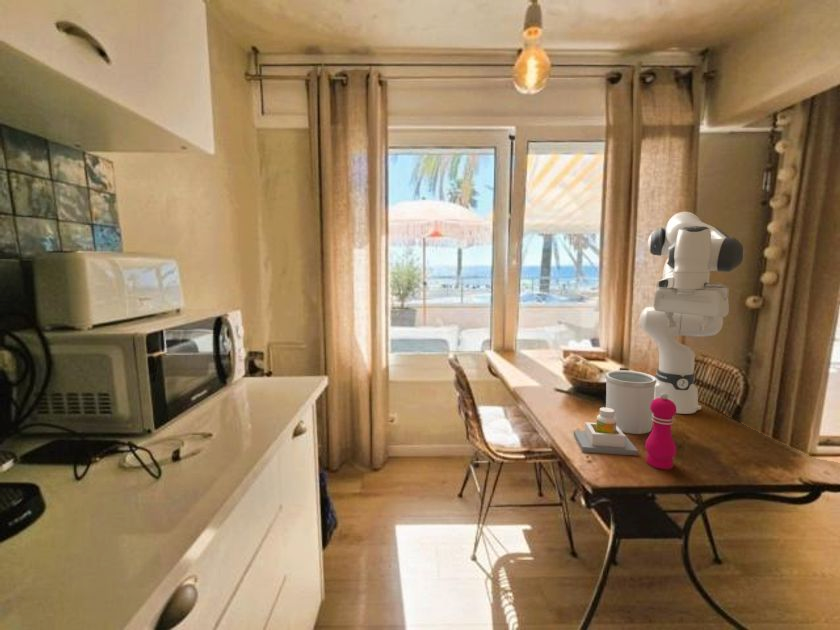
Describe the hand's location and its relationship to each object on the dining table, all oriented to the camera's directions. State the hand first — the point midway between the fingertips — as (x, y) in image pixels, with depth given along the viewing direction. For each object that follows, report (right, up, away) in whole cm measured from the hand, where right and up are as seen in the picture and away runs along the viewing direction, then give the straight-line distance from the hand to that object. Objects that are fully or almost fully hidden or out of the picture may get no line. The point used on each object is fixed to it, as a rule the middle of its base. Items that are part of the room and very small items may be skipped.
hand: (686, 329), depth 115 cm
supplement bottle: (-23, -34, +3) cm, 41 cm away
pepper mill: (-13, -37, -9) cm, 40 cm away
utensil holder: (-9, -34, +17) cm, 39 cm away
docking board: (-23, -35, +3) cm, 42 cm away
